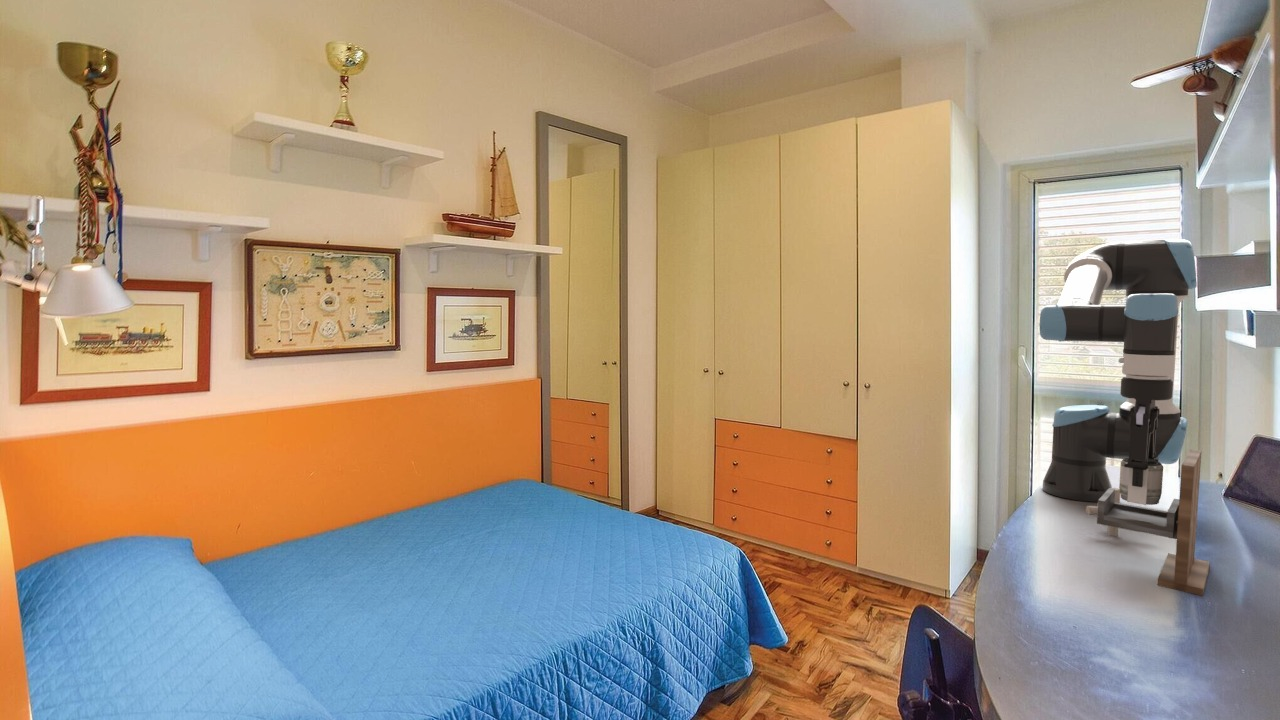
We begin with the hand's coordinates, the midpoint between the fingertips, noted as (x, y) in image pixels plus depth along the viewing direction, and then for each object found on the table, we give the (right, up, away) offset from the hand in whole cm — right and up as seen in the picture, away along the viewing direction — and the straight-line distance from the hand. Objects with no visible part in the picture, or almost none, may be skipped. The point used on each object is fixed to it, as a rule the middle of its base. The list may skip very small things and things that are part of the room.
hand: (1139, 498), depth 118 cm
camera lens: (0, -1, 0) cm, 1 cm away
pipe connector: (+8, -12, +17) cm, 22 cm away
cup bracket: (+2, -13, 0) cm, 13 cm away
